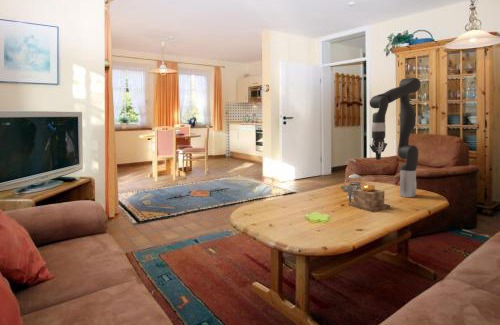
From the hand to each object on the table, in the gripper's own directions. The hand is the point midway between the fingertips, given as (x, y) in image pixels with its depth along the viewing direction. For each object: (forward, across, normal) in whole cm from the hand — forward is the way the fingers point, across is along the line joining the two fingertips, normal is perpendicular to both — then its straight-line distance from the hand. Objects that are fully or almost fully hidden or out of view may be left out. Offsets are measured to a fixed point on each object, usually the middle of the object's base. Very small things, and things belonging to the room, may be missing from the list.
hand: (378, 159), depth 207 cm
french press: (+27, 0, -20) cm, 34 cm away
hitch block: (+27, +10, +2) cm, 29 cm away
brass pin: (+24, +9, +2) cm, 26 cm away
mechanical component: (+27, +10, -13) cm, 32 cm away
